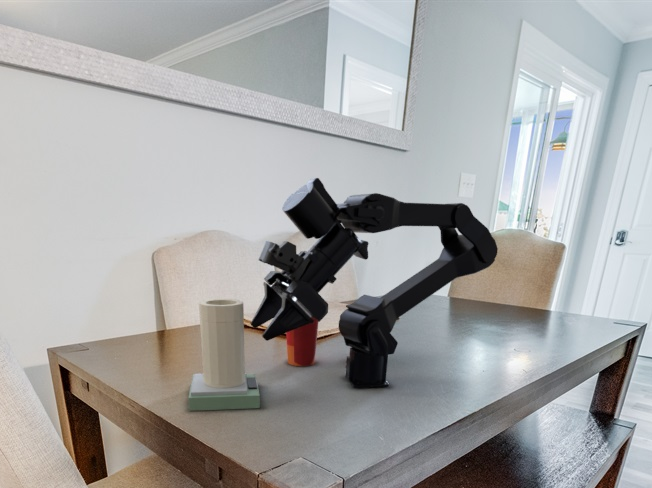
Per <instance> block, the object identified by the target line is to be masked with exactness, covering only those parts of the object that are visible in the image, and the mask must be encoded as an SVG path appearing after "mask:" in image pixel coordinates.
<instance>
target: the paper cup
mask: <svg viewBox="0 0 652 488" xmlns="http://www.w3.org/2000/svg"><path fill="white" fill-rule="evenodd" d="M311 319H312V320H313V321H314V323H312V324H311V323H310V324H307V325H304V326H302V327H299V328H297V329H294V330H292V331H289V332H287V333H285V335H286V336H285V337H286V355H287V364H289V366H290V365H291V366H295V367H308V366H312V365H314V364H315V360H316V352H317V342H318V341H317V340H318V332H319V322H318V321H317V320H315V319H314V318H313V317H312V318H311Z"/></svg>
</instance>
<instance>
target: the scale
mask: <svg viewBox="0 0 652 488" xmlns="http://www.w3.org/2000/svg"><path fill="white" fill-rule="evenodd" d="M187 400H188V410H189V412H193V411H194V412H196V411H217V410H218V411H220V410H222V411H223V410H245V409H248V410H249V409H260V408H261V396H260V390H259V386H258V382H257V377H256V373H245V382H244V383H243V384H242V385H239V386H236V387H231V388H215V387H210V386H207V385H205V384H204V379H203V372H202V373H201V372H200V373H193V375H192V376H191V381H190V388H189V393H188V399H187Z"/></svg>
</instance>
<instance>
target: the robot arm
mask: <svg viewBox="0 0 652 488" xmlns="http://www.w3.org/2000/svg"><path fill="white" fill-rule="evenodd" d="M281 210H282V212H283V213H284V214H285V215H286V217H287V218H288V219H289V220H290V222H291V223H293V225H294V226H295V227H296V228H297V230H298V231H299V232H300V233H301V234H302V236H303V237H304V238H305V239H309V240H310V239H312V238H314V239H315V240H317V241H316V242H315V243H314V244H313V245H312V246H311V247H310V248H309V249H308V251H306V250H302V251H301V250H300V251H299V253H297V245H296V244H294V243H292V242H290V241H287V240H285V241H282V243H280V244H278V243H275V242H272V241H269V240H268V241H267V240H266V241H265V243H264V246H263V248H262V250H261V252H260V255H259V257H258V261H260V262H261V263H263V264H267V265H269V266H271V267H275V268H277V269H279V270H281V271H279V270H270V271H269V272H268V273H267V275H266V276H265V277H264V278H263V280H264V281H263V284H262V285H263V290H264V296H263V299H262V300H261V302H260V304H259V306H258V309H257V310H256V312H255V314H254V315H253V318H252V320H251V321H250V326H251V327H252V328H254V329H257V328H259V327H261V326H262V325H264V324H265V323H267V322H269V321H271V322H270V323H269V324H268V326H267V327H266V329H265V330H264V331H263V334H262V336H261V337H262V338H263V339H264V340H265V341H270V340H273V339H275V338H277V337H280V336H283V335H284V334H286V333H287V332H289V331H292V330H294V329H297V328H299V327H302V326H304V325H307V324H310V323H311V324H312V323H314V321H313V320H312V319H311V318H312V317H313V318H314V319H315V320H317V321H318V323H320V322H321V321H322V320H323V319H324V318H325V317H326V316H327V314H328V313H329V303H328V302H327V301H326V300H325V299H324V298H323V297H322V296H321V294H319V293H321V291H322V290H323V289H324V288H325V287H326V286H327V284H328V283H329V284H334V283H335V282H336V281H337V277H336V275H337V273H339V272H340V271H341V269H342V268H343V267H344V266H345V265H346V264H347V263H348V262H349V261H350V260H351V259H352V258H353V256H355V257H356V258H358V259H362V260H366V261H367V260H368V259H369V241H367V240H363V239H360V238H359V237H358V235H357V233H359V234H378V233H383V232H387V231H390V230H391V231H392V230H393V229H396V228H400V227H438V229H439V232H440V243H441V245H442V246H443V248H442V250H441V252H440V254H439V257H438V258H437V259H436V260H434V261H433V262H431V263H430V264H428V265H426V266H425V267H424V268H422V269H421V270H419V271H417V272H416V273H414V275H412V276H410V277H409V278H407V279H406V280H405V281H403V282H401V283H399V285H397V286H396V287H394V288H393V289H391V290H390V291H388V292H387V293H385V294H384V295H381V297H377V296H374V295H373V296H372V295H368V294H363V295H361V296H359V298H357V299H356V300H355V301H354V302H352V303H350V304H346V305H345V307H346V309H345V310H344V311H342V313H341V314H340V315H339V320H338V331H339V334H340V335H341V336H342V338H343V340H344V341H343V342H344V344H345V346H346V347H349V355H347V356H346V360H345V364H346V365H345V379H346V380H347V381H348V382H349V383H350V385H351V386H352V387H353V388H355V389H364V388H365V389H366V388H388V387H390V384H389V382H388V381H387V374H388V373H387V372H388V362H389V361H388V360H389V356H390V355H394V354H395V352H396V349H397V347H398V343H399V342H398V341H397V340H396V338H395V336H393V335H392V333H391V332H392V331H393V329H394V327H395V324H396V323H397V320H398V319H399V318H400V317H402V316H403V315H405V314H406V313H408V312H409V311H410V310H412V309H413V308H415V307H417V306H418V305H419V304H421V303H423V302H425V300H427V299H429V298H430V297H431V296H433V295H434V294H435V293H437V292H438V291H440V290H441V289H442V288H444V287H445V286H447V285H448V284H450V283H451V282H453V281H454V280H456V279H458V278H462V277H465V276H470V275H474V274H477V273H479V272H482V271H483V270H486V269H488V268H490V267H491V266H492V265H493V264H494V262H495V261H496V257H497V256H498V249H499V248H498V245H497V242H496V239H495V238H494V237H493V235H492V234H491V232H490V230H489V229H488V227H487V226H485V225H484V223H482V222H481V221H480V220H479V219H478V218H477V217H475V215H473V211H471V208H470V207H469V206H468V205H467V204H465V203H464V202H463V203H462V202H457V203H456V202H455V203H453V202H451V203H427V202H404V201H401V200H398V199H396V198H395V197H393V196H388V195H385V194H381V193H377V192H374V193H373V192H372V193H364V194H353V195H349V196H347V197H346V199H345V200H344V202H343V203H337V202H336V201H335V200H334V199H333V197H332V196H331V195H330V194H329V192H328V191H327V189H326V187H325V185H324V183H323V182H322V181H321V179H320V178H319V177H315V178H314V177H313V178H310V179H309V180H308V182H307V183H306V184H304V185H302V186H301V187H300V188H298V189H297V190H296V191H295V192H294V193H291V194H290V195H289V196H288V198H287V199H286V200H285V202H284V203H283V205H282V208H281ZM459 233H460V234H459Z"/></svg>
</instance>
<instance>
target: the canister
mask: <svg viewBox="0 0 652 488" xmlns="http://www.w3.org/2000/svg"><path fill="white" fill-rule="evenodd" d="M198 311H199V329H200V343H201V345H200V346H201V347H200V348H201V364H202V373H203V379H204V384H205V385H207V386H210V387H215V388H231V387H236V386H239V385H242V384H243V383H244V382H245V374H246V359H245V357H246V356H245V317H244V316H245V314H244V313H245V312H244V300H240V299H233V298H211V299H210V298H209V299H205V300H204V299H203V300H201V301H199V303H198Z"/></svg>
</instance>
